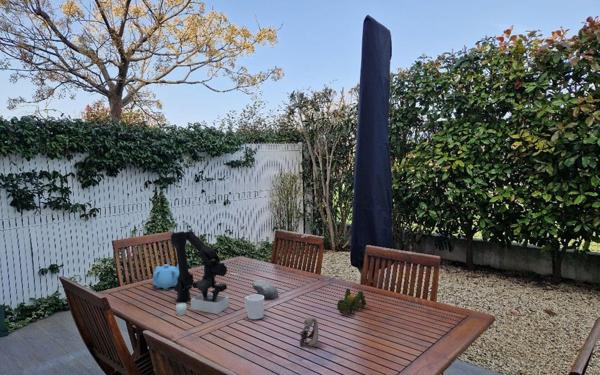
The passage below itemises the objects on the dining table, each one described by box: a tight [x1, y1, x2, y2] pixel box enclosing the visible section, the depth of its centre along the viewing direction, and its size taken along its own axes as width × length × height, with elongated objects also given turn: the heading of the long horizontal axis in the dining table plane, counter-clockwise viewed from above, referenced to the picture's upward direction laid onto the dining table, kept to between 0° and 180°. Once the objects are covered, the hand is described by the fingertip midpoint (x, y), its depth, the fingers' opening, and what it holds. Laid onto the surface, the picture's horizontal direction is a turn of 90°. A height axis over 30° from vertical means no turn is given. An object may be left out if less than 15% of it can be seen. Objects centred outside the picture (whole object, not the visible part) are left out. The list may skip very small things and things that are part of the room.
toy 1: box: [299, 314, 319, 348], centre depth 164 cm, size 8×8×14 cm
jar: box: [175, 302, 187, 317], centre depth 199 cm, size 5×5×5 cm
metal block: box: [203, 295, 216, 303], centre depth 207 cm, size 5×5×5 cm
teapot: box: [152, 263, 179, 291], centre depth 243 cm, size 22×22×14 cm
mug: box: [243, 293, 265, 321], centre depth 194 cm, size 11×9×10 cm
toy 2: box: [336, 288, 367, 316], centre depth 204 cm, size 10×24×10 cm, turn 146°
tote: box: [190, 293, 230, 315], centre depth 207 cm, size 17×11×6 cm, turn 67°
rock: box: [251, 279, 279, 300], centre depth 225 cm, size 11×17×10 cm, turn 51°
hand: (209, 301), depth 207 cm, fingers closed on metal block, 5 cm apart
